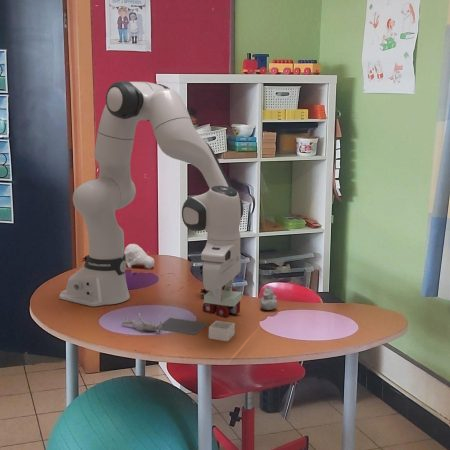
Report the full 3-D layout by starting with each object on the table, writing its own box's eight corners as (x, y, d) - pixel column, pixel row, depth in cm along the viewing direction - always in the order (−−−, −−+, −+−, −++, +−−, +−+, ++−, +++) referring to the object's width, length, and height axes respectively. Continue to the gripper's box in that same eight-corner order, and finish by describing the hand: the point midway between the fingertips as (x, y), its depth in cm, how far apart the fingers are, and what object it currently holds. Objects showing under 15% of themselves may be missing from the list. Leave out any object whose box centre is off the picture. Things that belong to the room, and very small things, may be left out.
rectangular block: (203, 302, 180) (203, 295, 180) (212, 295, 186) (212, 288, 186) (233, 306, 178) (234, 299, 177) (241, 299, 184) (241, 292, 183)
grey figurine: (255, 309, 208) (256, 284, 207) (267, 304, 213) (268, 280, 212) (270, 313, 205) (270, 288, 203) (282, 308, 210) (283, 283, 208)
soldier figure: (135, 327, 195) (170, 320, 190) (132, 342, 192) (167, 336, 187) (119, 314, 190) (155, 307, 184) (116, 329, 187) (152, 323, 182)
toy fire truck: (231, 321, 198) (232, 287, 195) (198, 312, 205) (198, 279, 203) (244, 315, 203) (245, 282, 201) (212, 307, 210) (212, 274, 208)
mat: (155, 331, 189) (155, 329, 188) (170, 320, 198) (170, 317, 198) (195, 337, 185) (195, 335, 184) (208, 325, 194) (208, 323, 194)
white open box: (208, 341, 183) (208, 327, 182) (215, 334, 188) (216, 320, 187) (227, 344, 181) (228, 329, 180) (234, 336, 186) (234, 323, 185)
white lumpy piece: (131, 241, 256) (159, 247, 252) (129, 262, 258) (157, 269, 254) (122, 244, 251) (150, 251, 246) (120, 266, 253) (148, 273, 248)
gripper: (225, 238, 189) (225, 285, 192) (198, 255, 171) (198, 307, 173) (247, 240, 187) (246, 288, 190) (221, 257, 169) (221, 310, 171)
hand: (223, 297), depth 182 cm, fingers closed on rectangular block, 6 cm apart
